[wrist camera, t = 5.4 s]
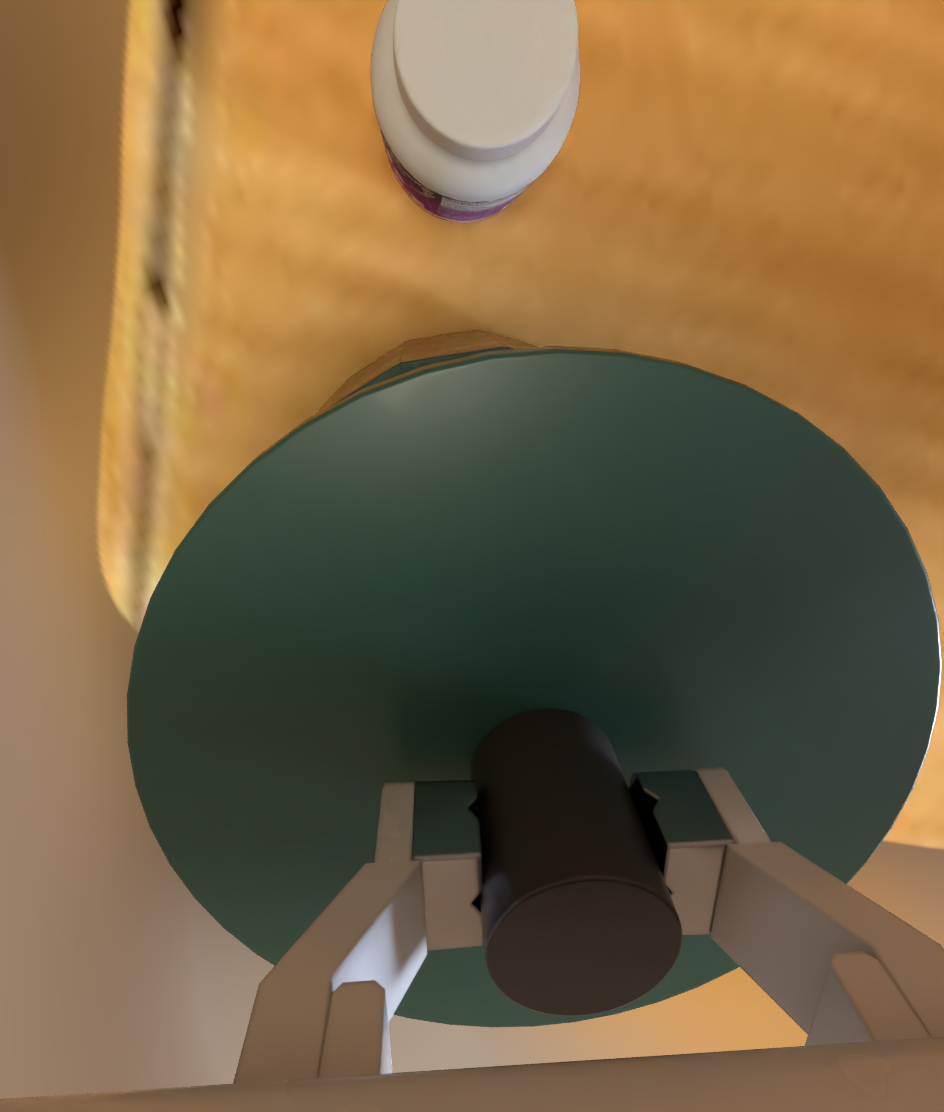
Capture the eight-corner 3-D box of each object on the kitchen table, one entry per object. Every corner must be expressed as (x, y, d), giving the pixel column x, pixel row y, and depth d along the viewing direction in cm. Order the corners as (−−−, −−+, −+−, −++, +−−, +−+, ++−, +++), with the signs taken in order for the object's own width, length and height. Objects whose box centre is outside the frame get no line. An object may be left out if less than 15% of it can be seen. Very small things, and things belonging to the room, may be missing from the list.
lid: (454, 121, 9) (473, -45, 4) (1046, 648, 13) (1366, 834, 8) (24, 804, 13) (-189, 1068, 8) (575, 1048, 17) (625, 1317, 12)
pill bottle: (363, 72, 22) (319, -89, 13) (517, 24, 21) (583, -174, 12) (411, 245, 24) (403, 212, 15) (552, 202, 23) (631, 143, 14)
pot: (430, 255, 24) (433, 231, 15) (687, 465, 27) (811, 543, 19) (245, 534, 27) (159, 647, 18) (495, 687, 31) (523, 842, 22)
